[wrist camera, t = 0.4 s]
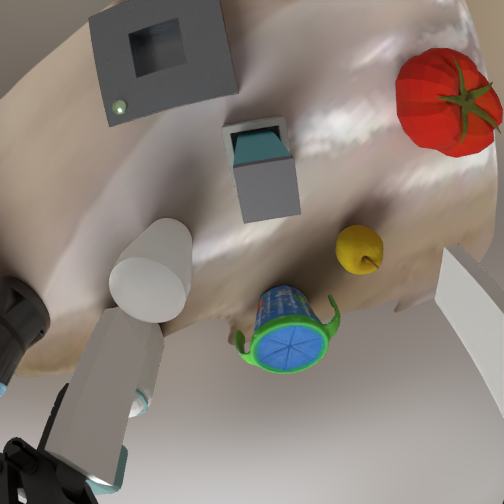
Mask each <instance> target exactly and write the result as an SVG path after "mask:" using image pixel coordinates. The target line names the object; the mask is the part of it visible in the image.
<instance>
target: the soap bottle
mask: <svg viewBox="0 0 504 504" xmlns="http://www.w3.org/2000/svg"><path fill="white" fill-rule="evenodd" d="M118 307H119V306H118ZM120 309H121V308H120ZM121 310H122V309H121ZM122 312H123V314H124V316H125V317H126V319H127V321H128V322H129V324H130V326H131V327H132V329H133V331H134V332H135V334H136V336H137V337H138V339H139V340H140V342H141V344H142V345H143V347H144V348H145V350H146V351H147V353H146V357H145V360H144V363H143V367H142V370H141V374H140V377H139V381H138V384H137V388H136V391H135V395H134V399H133V403H132V406H131V410H130V414H129V417H133V416H136V415H141V414H142V413H144V412H145V411H147V408H148V406H149V405H150V404H151V401H152V397H153V392H154V388H155V383H156V379H157V374H158V370H159V366H160V361H161V358H162V353H163V349H164V338H163V334H162V331H161V328H160V326H159V325H158V323H150V322H145V321H141V320H138V319H136V318H134V317H132V316H130V315H129V314H127V313H126V312H124V311H123V310H122ZM96 325H97V324H96ZM95 327H96V326H95ZM91 336H92V335H91ZM90 338H91V337H90ZM89 340H90V339H89ZM88 342H89V341H88ZM87 344H88V343H87ZM86 346H87V345H86ZM85 348H86V347H85ZM80 359H81V358H80ZM79 361H80V360H79ZM127 452H128V451H127V449H126V447H125V446H123V445H122V447H121V451H120V456H119V460H118V465H117V470H116V474H115V479H114V484H113V486H109V485H105V484H101V483H97V482H95V481H93V480H91V479H89V478H88V477H86V482H87V483H88V484H89V486H90V487H91V489H92V492H93V494H94V495H99V494H109V493H110V494H111V493H115V492H117V491H118V490H119V489H120V488H121V486H122V483H123V477H124V472H125V466H126V461H127V455H128V453H127Z"/></svg>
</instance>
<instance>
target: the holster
mask: <svg viewBox="0 0 504 504" xmlns="http://www.w3.org/2000/svg"><path fill="white" fill-rule="evenodd" d="M270 126H277V132H278V138H279V140H280V141H281V142H282V143H283V145H284V146H285V147H286V148H287V150H288V151H289V152H290V146H289V140H288V133H287V127H286V120H285V117H283V116H275V117H268V118H262V119H255V120H249V121H244V122H238V123H233V124H227V125H223V126H222V127H221V130H222V135H223V139H224V144H225V149H226V154H227V159H228V164H229V168H230V173H231V178H232V183H233V187H236V182H235V178H234V173H233V162H234V156H235V148H234V143H233V138H232V133H235V132H240V131H246V130H252V129H258V128H264V127H270ZM290 154H291V153H290Z"/></svg>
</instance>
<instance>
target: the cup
mask: <svg viewBox="0 0 504 504" xmlns="http://www.w3.org/2000/svg"><path fill="white" fill-rule="evenodd" d="M191 281H192V236H191V234H190V231H189V230H188V228H187V227H186V226H185V225H184V224H183V223H181V222H179V221H178V220H175V219H171V218H162V219H159V220H156V221H155V222H153V223H152V224H151V225H150V226H149V227H148V228H147V229H145V230H144V231H143V232H142V233H141V234H140V235H139V236H138V237H137V238H136V239H135V240H134V241H133V242H131V243H130V244H129V245H128V246H127V247H126V248H125V249H124V250H123V252H122V253H121V254H120V256H119V257H118V259H117V262H116V264H115V266H114V268H113V270H112V271H111V274H110V277H109V289H110V293H111V295H112V297H113V299H114V301H115V302H116V303H117V305H118V306H119V307H120V308H121V309H122V310H123V311H124V312H126V313H127V314H129V315H130V316H132V317H134V318H136V319H138V320H141V321H145V322H150V323H161V322H166V321H169V320H172V319H173V318H175V317H176V316H178V315H179V314H180V313H181V311H182V310H183V308H184V306H185V302H186V299H187V296H188V293H189V291H190V288H191Z"/></svg>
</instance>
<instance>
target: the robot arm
mask: <svg viewBox="0 0 504 504" xmlns="http://www.w3.org/2000/svg"><path fill="white" fill-rule="evenodd" d="M435 301H436V303H437V304H438V306H439V307H440V309H441V310H442V312H443V313H444V314H445V316H446V318H447V319H448V321H449V322H450V324H451V325H452V327H453V328H454V330H455V331H456V333H457V335H458V336H459V338H460V339H461V341H462V343H463V344H464V346H465V347H466V349H467V351H468V352H469V354H470V356H471V358H472V359H473V361H474V363H475V364H476V366H477V368H478V370H479V371H480V373H481V375H482V377H483V379H484V381H485V382H486V384H487V386H488V388H489V390H490V392H491V394H492V396H493V398H494V400H495V402H496V403H497V406H498V408H499V410H500V412H501V414H502V416H503V418H504V290H503V289H502V288H501V287H500V286H499V285H498V284H497V283H496V281H495V280H494V279H493V278H492V277H491V276H490V275H489V274H488V273H487V272H486V271H485V270H484V269H483V268H482V267H481V266H480V265H479V263H478V262H477V261H476V260H475V259H474V258H473V257H472V256H471V255H470V254H469V253H467V252H466V251H465V250H464V249H463V248H462V247H461V246H460V245H459V244H454V245H450V246H446V247H444V251H443V258H442V264H441V270H440V276H439V281H438V286H437V291H436V296H435ZM49 327H50V318H49V314H48V312H47V310H46V308H45V306H44V304H43V302H42V301H41V300H40V298H39V297H38V296H37V295H36V293H35V292H34V291H33V290H32V289H31V288H30V287H28V286H27V285H26V284H25V283H23V282H22V281H20V280H18V279H16V278H13V277H3V278H1V279H0V398H1V397H2V395H3V393H4V392H5V390H6V389H7V386H8V384H9V382H10V380H11V378H12V376H13V374H14V372H15V370H16V368H17V366H18V364H19V363H20V361H21V359H22V357H23V355H24V354H25V352H26V350H27V349H29V348H30V347H31V346H33V345H34V344H35V343H37V342H38V341H39V340H41V339H42V338H43V337H44V336H45V334H46V333H47V331H48V329H49ZM146 353H147V351H146V350H145V348H144V347H143V345H142V344H141V342H140V340H139V339H138V337H137V336H136V334H135V332H134V331H133V329H132V327H131V326H130V324H129V322H128V321H127V319H126V317H125V316H124V314H123V312H122V310H121V309H120V307H116V308H108V309H105V310H104V312H103V314H102V316H101V318H100V320H99V322H98V323H97V325H96V327H95V329H94V331H93V333H92V336H91V338H90V340H89V342H88V344H87V346H86V348H85V350H84V352H83V354H82V356H81V359H80V361H79V363H78V365H77V367H76V370H75V372H74V374H73V376H72V379H71V381H70V383H66V385H65V386H64V387H63V389H62V390H61V391H60V392H59V394H58V396H57V398H56V401H55V403H54V407H53V408H52V411H51V416H49V418H48V421H47V423H46V426H45V429H44V431H43V435H42V437H41V440H40V443H39V445H38V448H37V450H36V449H34V448H33V447H32V446H30V445H29V444H27V443H26V442H25V441H24V440H22V439H21V438H18V437H15V438H12V439H11V440H9V441H8V442H7V444H6V445H5V447H4V450H3V454H2V453H0V504H24V503H22V502H20V501H19V500H18V495H20V496H22V497H24V498H26V499H27V503H26V504H98V502H97V500H96V498H95V496H94V494H93V492H92V489H91V487H90V486H89V484H88V483H87V482H86V477H88V478H89V479H91V480H93V481H95V482H97V483H101V484H105V485H109V486H113V484H114V479H115V474H116V470H117V465H118V460H119V456H120V451H121V447H122V443H123V438H124V434H125V430H126V426H127V422H128V418H129V414H130V410H131V406H132V403H133V399H134V395H135V391H136V388H137V384H138V381H139V377H140V374H141V370H142V367H143V363H144V360H145V357H146ZM503 504H504V501H503Z"/></svg>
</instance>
